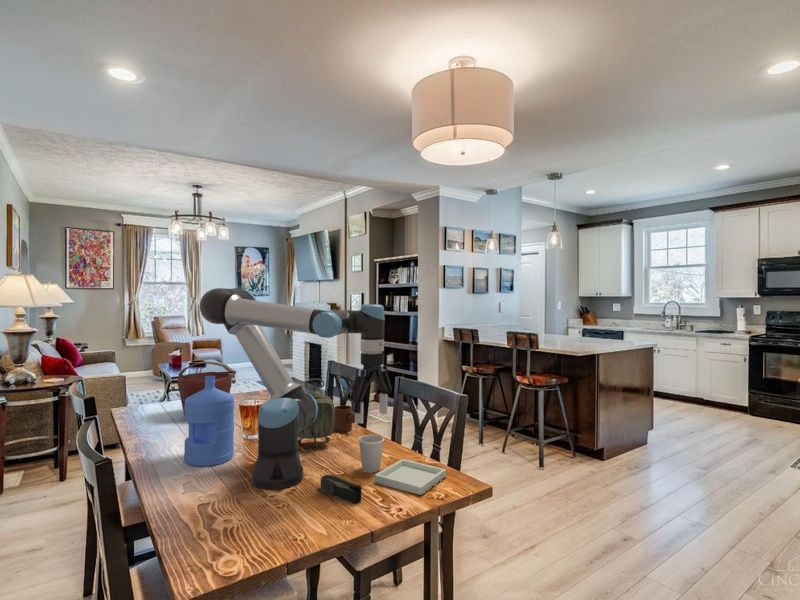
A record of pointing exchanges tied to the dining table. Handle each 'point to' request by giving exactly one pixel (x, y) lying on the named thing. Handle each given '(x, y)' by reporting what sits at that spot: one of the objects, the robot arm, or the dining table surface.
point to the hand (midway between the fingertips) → (371, 417)
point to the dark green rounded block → (340, 488)
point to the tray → (410, 476)
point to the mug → (343, 418)
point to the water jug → (209, 426)
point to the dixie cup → (371, 452)
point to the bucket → (203, 381)
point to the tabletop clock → (320, 417)
